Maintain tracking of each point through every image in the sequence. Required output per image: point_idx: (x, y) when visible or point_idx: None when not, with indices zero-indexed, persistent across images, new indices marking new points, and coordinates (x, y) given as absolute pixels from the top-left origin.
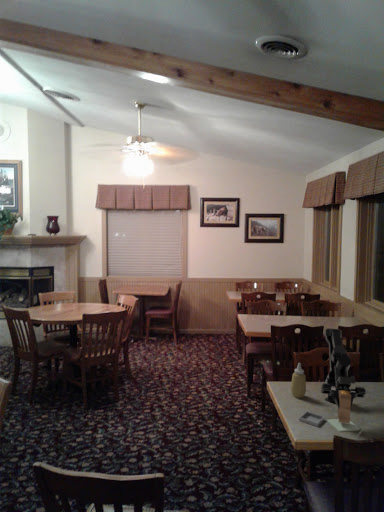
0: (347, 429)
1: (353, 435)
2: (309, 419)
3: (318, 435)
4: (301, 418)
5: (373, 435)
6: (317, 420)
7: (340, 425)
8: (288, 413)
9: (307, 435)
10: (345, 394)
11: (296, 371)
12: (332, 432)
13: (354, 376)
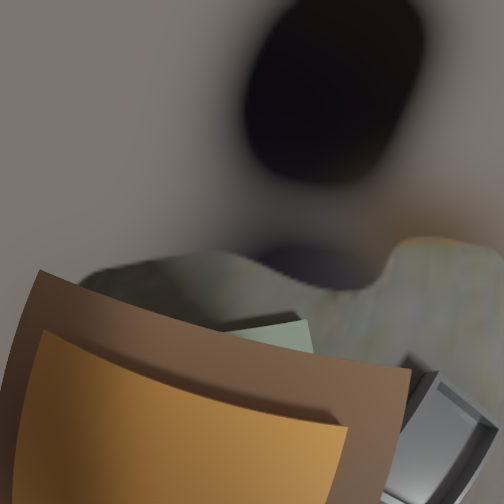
0: (240, 336)
1: (221, 292)
2: (441, 460)
3: (432, 285)
4: (497, 420)
5: (101, 289)
6: (400, 461)
7: None
8: (498, 497)
9: (475, 281)
10: (206, 340)
11: None
12: (349, 326)
13: None
